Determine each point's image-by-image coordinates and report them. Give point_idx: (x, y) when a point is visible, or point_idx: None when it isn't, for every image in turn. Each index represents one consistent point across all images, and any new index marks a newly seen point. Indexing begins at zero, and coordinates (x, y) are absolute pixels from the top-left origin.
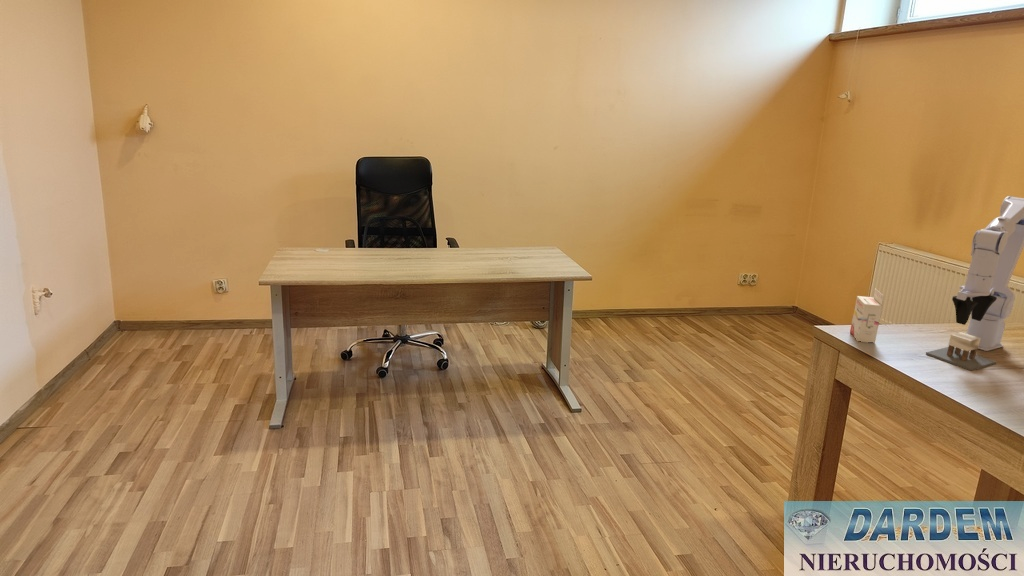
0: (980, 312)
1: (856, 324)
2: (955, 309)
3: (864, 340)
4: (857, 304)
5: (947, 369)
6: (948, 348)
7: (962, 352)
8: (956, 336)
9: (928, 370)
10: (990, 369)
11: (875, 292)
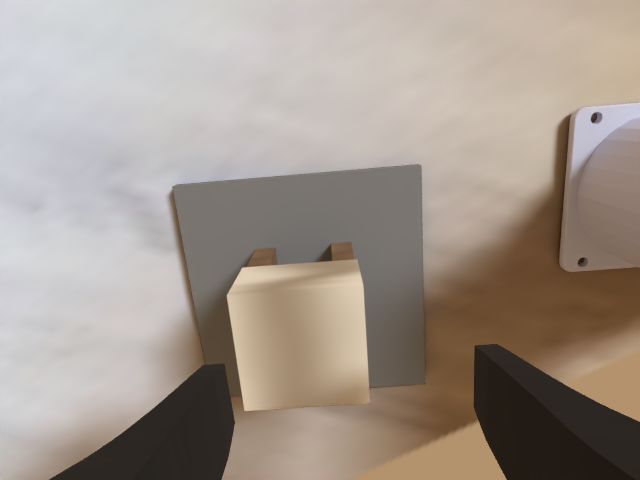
0: (512, 462)
1: None
2: (108, 443)
3: None
4: None
5: (113, 348)
6: (249, 263)
7: (382, 254)
8: (232, 330)
9: (6, 327)
10: (320, 407)
11: None
